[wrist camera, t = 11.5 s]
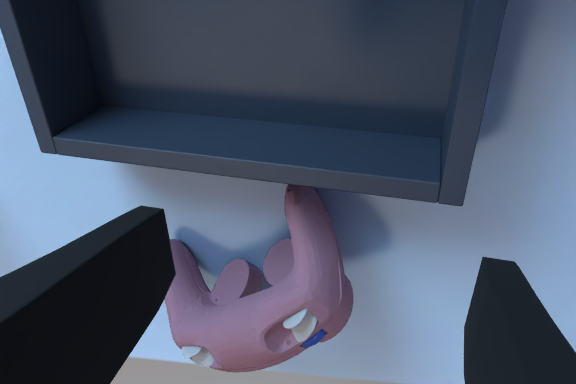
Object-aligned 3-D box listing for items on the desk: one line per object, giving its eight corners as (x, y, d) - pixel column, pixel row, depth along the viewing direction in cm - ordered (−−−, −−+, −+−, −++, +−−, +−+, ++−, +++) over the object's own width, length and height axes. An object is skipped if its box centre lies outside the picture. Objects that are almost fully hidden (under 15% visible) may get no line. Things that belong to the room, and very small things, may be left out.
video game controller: (214, 268, 28) (204, 393, 24) (152, 238, 25) (129, 374, 21) (358, 209, 23) (375, 353, 19) (302, 163, 20) (309, 321, 16)
